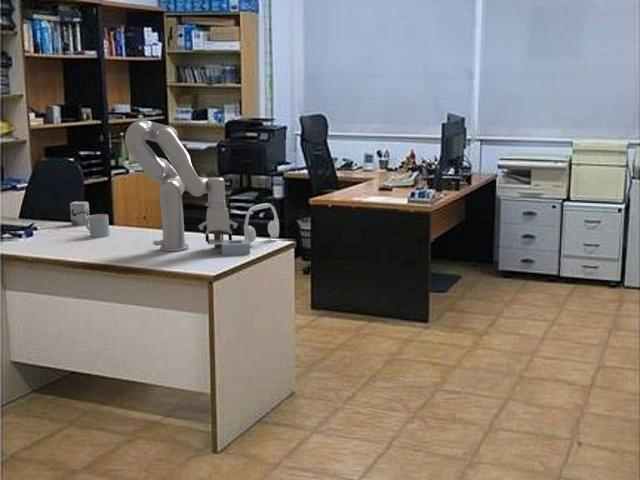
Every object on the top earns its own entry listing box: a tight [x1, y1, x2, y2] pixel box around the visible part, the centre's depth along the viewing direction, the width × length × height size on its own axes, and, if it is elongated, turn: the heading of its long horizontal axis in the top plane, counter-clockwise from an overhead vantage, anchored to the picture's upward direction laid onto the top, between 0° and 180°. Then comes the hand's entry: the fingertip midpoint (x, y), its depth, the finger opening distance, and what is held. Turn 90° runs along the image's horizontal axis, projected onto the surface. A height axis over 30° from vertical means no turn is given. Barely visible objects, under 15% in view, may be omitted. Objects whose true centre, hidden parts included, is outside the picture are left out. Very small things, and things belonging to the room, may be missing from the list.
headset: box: [243, 202, 280, 244], centre depth 382 cm, size 20×7×18 cm, turn 138°
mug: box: [85, 213, 110, 239], centre depth 406 cm, size 14×9×10 cm
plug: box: [213, 231, 224, 250], centre depth 372 cm, size 4×4×9 cm
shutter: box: [208, 234, 224, 246], centre depth 361 cm, size 6×8×3 cm
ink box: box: [69, 201, 90, 226], centre depth 437 cm, size 9×5×12 cm, turn 81°
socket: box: [221, 238, 251, 256], centre depth 363 cm, size 12×10×4 cm
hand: (219, 242), depth 372 cm, fingers open, 9 cm apart
